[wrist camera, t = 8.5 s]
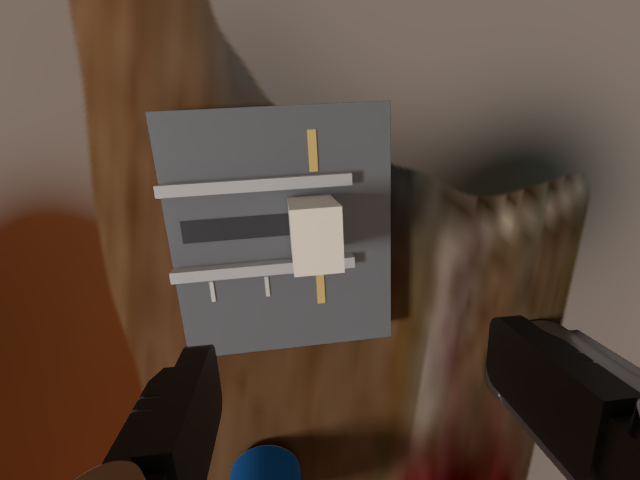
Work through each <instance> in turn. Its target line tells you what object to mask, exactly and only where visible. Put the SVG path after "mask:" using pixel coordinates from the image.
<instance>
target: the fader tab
mask: <svg viewBox="0 0 640 480" xmlns="http://www.w3.org/2000/svg"><path fill="white" fill-rule="evenodd" d="M287 203H288V215H289V228H290V240H291V252H292V261H293V270H294V277H304V276H315V275H326V274H337V273H345V266H344V239H343V213H342V206H341V205H340V204H339V203H338V202H337V201H336V200H335V199H334V198H333V197H332V196H331V195H330V194H326V195H312V196H298V197H287Z"/></svg>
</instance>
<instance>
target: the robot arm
mask: <svg viewBox="0 0 640 480" xmlns="http://www.w3.org/2000/svg"><path fill="white" fill-rule="evenodd" d="M485 370H486V380H487V384H488V386H489V388H490V390H491V391H492V393H493V394H494V395H495V396H496V397H497V398H498V400H499V401H500V402H501V403H502V404H503V405H504V407H505V408H506V409H507V410H508V411H509V412H510V414H511V415H512V416H513V417H514V418H515V419H516V421H517V422H518V423H519V424H520V425H521V427H522V428H523V429H524V430H525V431H526V432H527V434H528V435H529V436H530V437H531V438H532V439H533V441H534V442H535V443H536V444H537V445H538V446H539V447H540V449H541V450H542V451H543V452H544V453H545V454H546V456H547V457H548V458H549V459H550V460H551V461H552V463H553V464H554V465H555V466H556V467H557V468H558V470H559V471H560V472H561V473H562V474H563V475H564V476H565V478H566V479H567V480H640V368H638V367H637V366H635V365H634V364H632V363H630V362H628V361H627V360H625V359H624V358H622V357H621V356H619V355H617V354H616V353H614V352H613V351H611V350H609V349H608V348H606V347H605V346H603V345H601V344H600V343H598V342H596V341H595V340H593V339H592V338H590V337H589V336H587V335H585V334H584V333H582V332H580V331H579V330H572V331H571V330H567V329H566V328H564V327H563V326H561V325H560V324H557V323H555V322H552V321H545V320H538V321H529V320H528V319H526V318H525V317H523V316H521V315H516V316H506V317H496V318H493V319H492V321H491V323H490V328H489V340H488V351H487V362H486V369H485ZM221 412H222V392H221V384H220V378H219V371H218V364H217V357H216V351H215V347H214V345H213V344H210V345H200V346H190V347H184V349H183V350H182V352H181V355H180V357H179V359H178V361H177V363H176V365H175V367H169V368H163V369H162V370H161V371H160V372H159V373H158V374H156V375H155V376H154V377H153V378H152V379H151V380H150V381H149V382H148V383H147V385H146V387H145V389H144V390H143V392H142V394H141V396H140V400H138V401H137V403H136V404H135V406H134V408H133V410H132V413H131V414H130V415H129V417H128V419H127V420H126V422H125V424H124V426H123V428H122V429H121V431H120V433H119V434H118V437H117V438H116V440H115V442H114V443H113V445H112V447H111V449H110V450H109V452H108V454H107V456H106V457H105V459H104V461H103V463H102V464H101V465H100V466H97V467H95V468H93V469H91V470H89V471H87V472H86V473H84V474H82V475H81V476H79V477H78V478H77V479H75V480H207V476H208V471H209V467H210V463H211V458H212V454H213V449H214V445H215V441H216V436H217V432H218V427H219V423H220V419H221Z"/></svg>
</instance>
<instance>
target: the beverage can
mask: <svg viewBox="0 0 640 480" xmlns="http://www.w3.org/2000/svg"><path fill="white" fill-rule="evenodd" d="M230 480H301V469H300V464H299V461H298V459H297V458H296V456H295V455H294V454H293V453H292V452H290V451H289V450H287V449H285V448H283V447H280V446H275V445H262V446H257V447H254V448H251V449H249V450H247V451H246V452H244V453H243V454H241V455H240V456H239V457H238V458H237V460H236V461H235V462H234V464H233V466H232V469H231V475H230Z"/></svg>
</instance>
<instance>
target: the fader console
mask: <svg viewBox="0 0 640 480" xmlns="http://www.w3.org/2000/svg"><path fill="white" fill-rule="evenodd" d="M145 113H146V118H147V124H148V130H149V135H150V141H151V147H152V152H153V158H154V163H155V169H156V175H157V180H158V185H156V186H153V188H154V194H155V199H160V198H161V203H162V208H163V214H164V220H165V225H166V231H167V237H168V242H169V248H170V253H171V259H172V265H173V270H172V271H171V272H170V273H169V276H170V282H171V284H176V287H177V293H178V298H179V304H180V310H181V315H182V321H183V326H184V332H185V338H186V343H187V347H190V346H200V345H210V344H213V345H214V347H215V351H216V356H219V355H228V354H237V353H246V352H255V351H264V350H273V349H282V348H291V347H300V346H309V345H318V344H327V343H336V342H345V341H354V340H363V339H372V338H381V337H390V336H391V144H390V143H391V101H371V102H349V103H327V104H306V105H286V106H285V105H284V106H263V107H241V108H220V109H199V110H177V111H156V112H145ZM326 194H330V195H331V196H332V197H333V198H334V199H335V200H336V201H337V202H338V203H339V204H340V205H341V206H342V213H343V239H344V266H345V273H337V274H326V275H315V276H304V277H294V270H293V261H292V252H291V240H290V228H289V215H288V203H287V197H298V196H312V195H326Z"/></svg>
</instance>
